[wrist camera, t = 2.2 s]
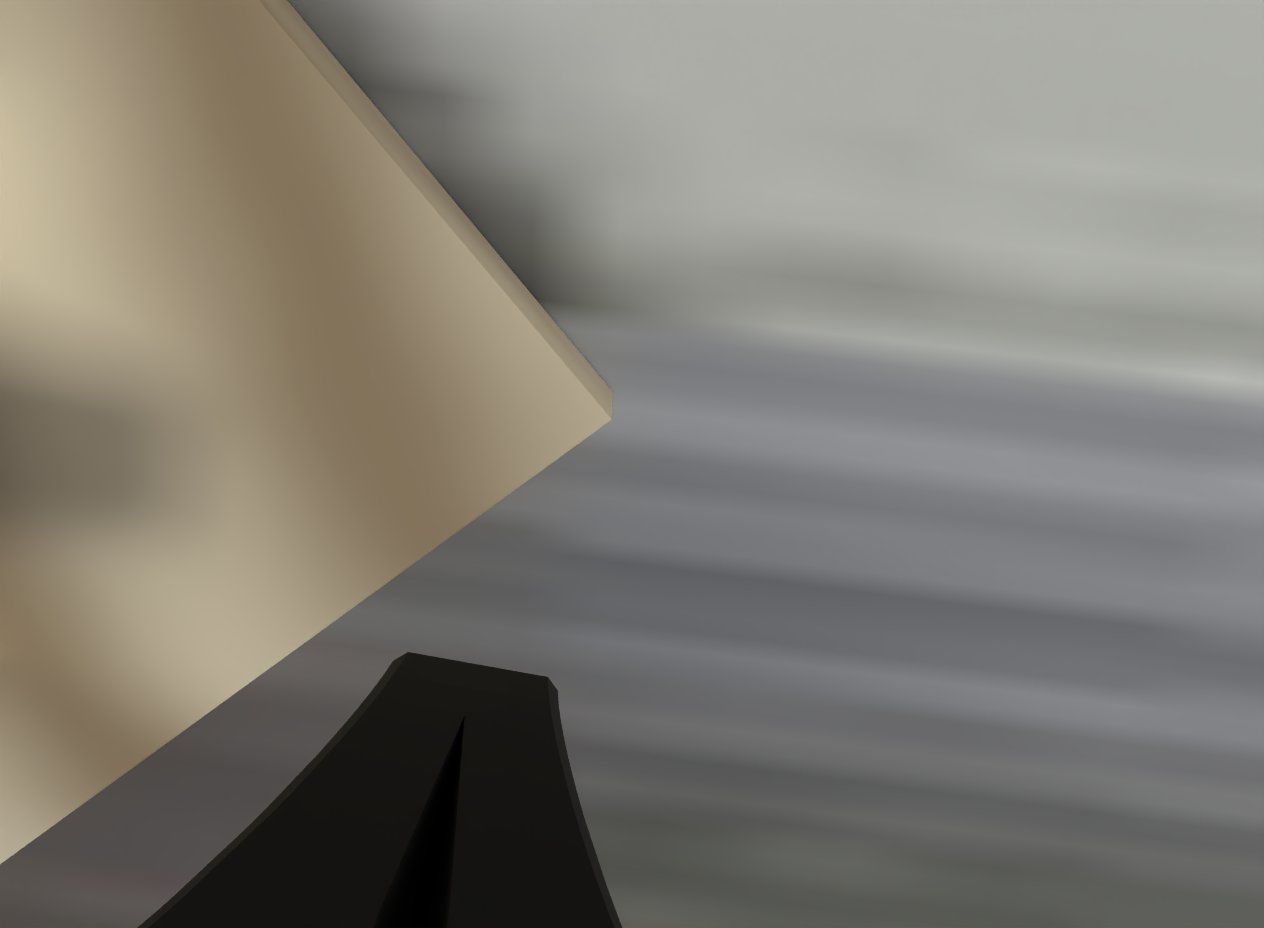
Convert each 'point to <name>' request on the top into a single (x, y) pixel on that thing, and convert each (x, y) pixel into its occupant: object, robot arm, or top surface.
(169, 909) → the robot arm
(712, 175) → the top surface
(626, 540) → the top surface
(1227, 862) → the top surface
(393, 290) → the board
